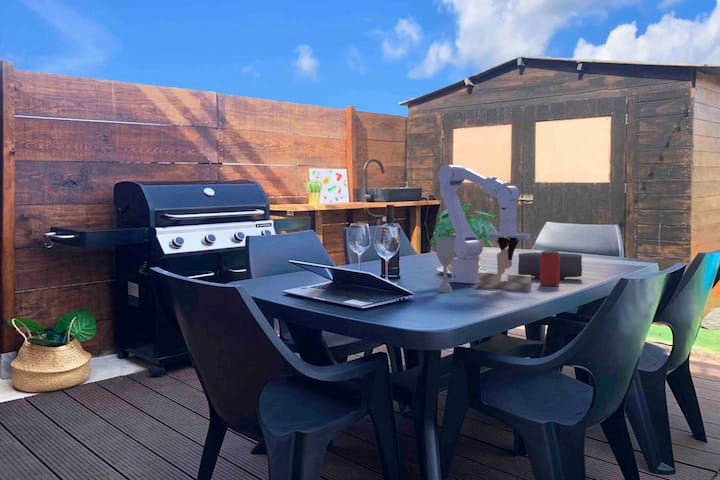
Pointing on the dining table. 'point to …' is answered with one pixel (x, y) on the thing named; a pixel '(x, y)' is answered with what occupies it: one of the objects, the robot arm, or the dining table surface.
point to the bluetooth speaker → (568, 265)
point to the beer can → (550, 268)
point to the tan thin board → (503, 261)
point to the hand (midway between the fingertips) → (507, 259)
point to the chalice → (445, 258)
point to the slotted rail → (495, 281)
